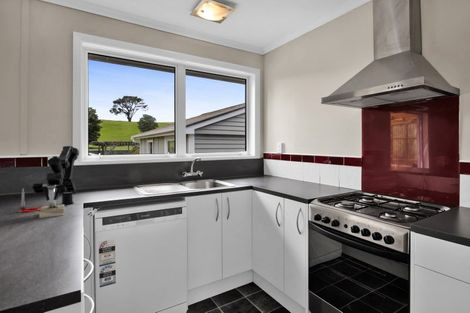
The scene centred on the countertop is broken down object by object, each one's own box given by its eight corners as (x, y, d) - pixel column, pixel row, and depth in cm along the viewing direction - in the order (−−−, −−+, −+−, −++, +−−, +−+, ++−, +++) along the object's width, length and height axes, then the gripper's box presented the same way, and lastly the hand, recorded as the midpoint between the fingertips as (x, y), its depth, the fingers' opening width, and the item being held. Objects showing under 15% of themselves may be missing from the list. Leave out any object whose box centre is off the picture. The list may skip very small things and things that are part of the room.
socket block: (42, 213, 137) (41, 206, 137) (64, 210, 143) (64, 204, 142) (39, 218, 127) (39, 211, 127) (63, 215, 132) (63, 208, 132)
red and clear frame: (43, 209, 149) (24, 209, 146) (44, 187, 149) (24, 187, 146) (37, 212, 141) (17, 213, 138) (38, 189, 141) (17, 189, 138)
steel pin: (47, 212, 135) (46, 185, 134) (56, 210, 138) (55, 185, 137) (49, 213, 132) (48, 186, 132) (58, 211, 135) (57, 185, 135)
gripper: (32, 168, 135) (24, 192, 125) (73, 166, 141) (68, 189, 131) (39, 181, 142) (31, 204, 132) (77, 179, 149) (73, 201, 139)
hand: (51, 200), depth 133 cm, fingers open, 3 cm apart
